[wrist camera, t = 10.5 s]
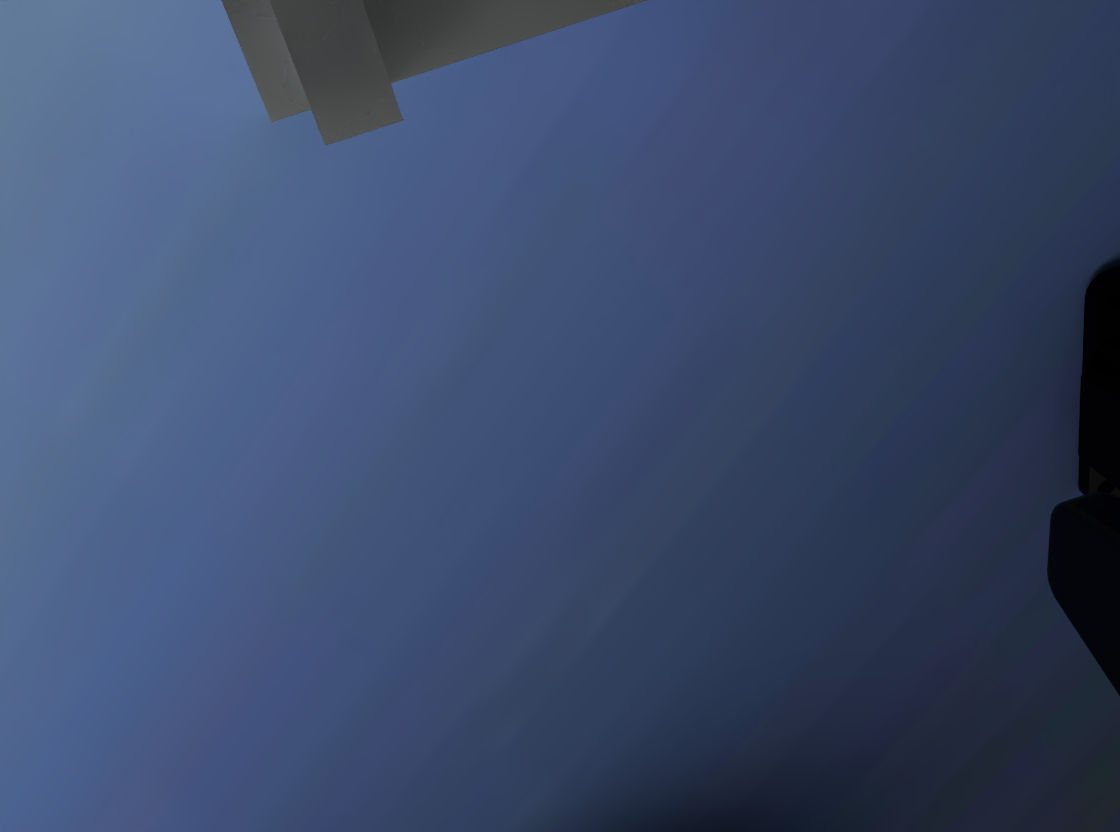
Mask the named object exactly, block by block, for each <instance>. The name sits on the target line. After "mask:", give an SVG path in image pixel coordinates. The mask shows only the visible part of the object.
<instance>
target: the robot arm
mask: <svg viewBox="0 0 1120 832" xmlns="http://www.w3.org/2000/svg"><path fill="white" fill-rule="evenodd" d="M1114 289H1115V290H1114ZM1113 290H1114V293H1113V294H1112V295H1111V296H1110V298H1108V295H1109V294H1110V293H1111V292H1112V291H1113ZM1107 298H1108V299H1107ZM1078 454H1079V479H1078V486H1079V490H1080V491H1081V492H1082V493H1083V494H1084V495H1083V496H1080V497H1077V498H1073V499H1070V500H1067V501H1064V502H1061V503H1059V504H1058V505H1056V506H1055V508H1054V510H1053V511H1052V513H1051V519H1050V534H1049V550H1048V566H1047V574H1048V581H1049V585H1050V588H1051V590H1052V592H1053V595H1054V597H1055V598H1056V600H1057V602H1058V603H1059V605H1060V606H1061V608H1062V609H1063V611H1064V612H1065V614H1066V615H1067V617H1068V619H1069V620H1070V622H1071V623H1072V625H1073V626H1074V628H1075V629H1076V631H1077V632H1078V634H1079V635H1080V637H1081V638H1082V640H1083V641H1084V643H1085V644H1086V646H1087V647H1088V649H1089V650H1090V652H1091V653H1092V655H1093V656H1094V658H1095V659H1096V661H1097V662H1098V664H1099V665H1100V667H1101V668H1102V670H1103V671H1104V673H1105V674H1106V676H1107V678H1108V679H1109V681H1110V682H1111V684H1112V685H1113V687H1114V688H1115V690H1116V691H1117V693H1118V694H1119V696H1120V266H1119V267H1116V268H1113V269H1110V270H1108V271H1105V272H1103V273H1101V274H1100V275H1098V276H1097V277H1096V278H1095V279H1094V280H1093V281H1092V282H1091V283H1090V285H1089V287H1088V288H1087V290H1086V295H1085V306H1084V335H1083V364H1082V375H1081V389H1080V418H1079V448H1078Z"/></svg>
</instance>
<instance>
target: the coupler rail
mask: <svg viewBox="0 0 1120 832" xmlns="http://www.w3.org/2000/svg"><path fill="white" fill-rule="evenodd" d="M643 1H646V0H222V3H223V5H224V8H225V10H226V12H227V15H228V17H229V20H230V22H231V25H232V27H233V29H234V32H235V34H236V37H237V39H238V42H239V44H240V47H241V49H242V51H243V54H244V56H245V59H246V61H247V64H248V66H249V69H250V71H251V73H252V76H253V78H254V81H255V83H256V86H257V88H258V90H259V93H260V95H261V98H262V100H263V103H264V105H265V108H266V110H267V112H268V115H269V117H270V120H271V122H273V121H276V120H279V119H282V118H285V117H289V116H292V115H295V114H298V113H301V112H304V111H307V110H310V109H311V110H312V112H313V115H314V118H315V120H316V123H317V125H318V128H319V131H320V133H321V136H322V138H323V141H324V144H325V146H326V145H329V144H332V143H335V142H338V141H341V140H344V139H347V138H350V137H353V136H356V135H359V134H362V133H365V132H368V131H371V130H375V129H378V128H381V127H384V126H387V125H390V124H393V123H396V122H399V121H402V120H403V119H402V116H401V113H400V110H399V107H398V104H397V101H396V98H395V95H394V92H393V89H392V86H391V83H393V82H396V81H399V80H402V79H406V78H409V77H412V76H415V75H418V74H421V73H424V72H427V71H430V70H433V69H436V68H439V67H442V66H446V65H449V64H452V63H455V62H458V61H461V60H464V59H467V58H470V57H473V56H476V55H479V54H482V53H486V52H489V51H492V50H495V49H498V48H501V47H504V46H507V45H510V44H513V43H516V42H519V41H523V40H526V39H529V38H532V37H535V36H538V35H541V34H544V33H547V32H550V31H553V30H556V29H559V28H563V27H566V26H569V25H572V24H575V23H578V22H581V21H584V20H587V19H590V18H593V17H596V16H599V15H603V14H606V13H609V12H612V11H615V10H618V9H621V8H624V7H627V6H630V5H633V4H636V3H639V2H643Z"/></svg>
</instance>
